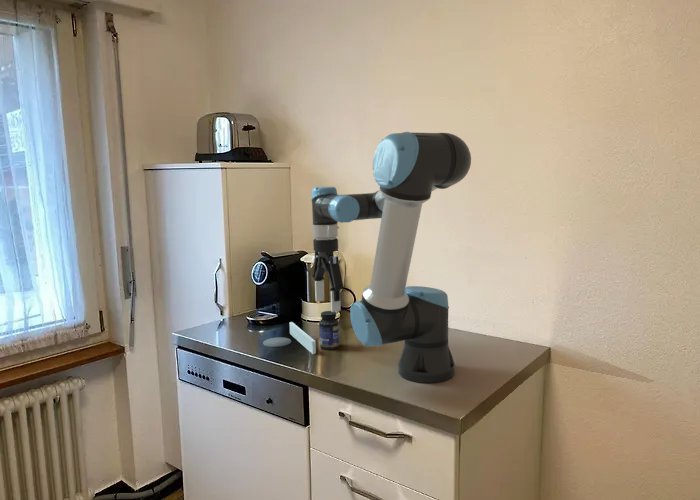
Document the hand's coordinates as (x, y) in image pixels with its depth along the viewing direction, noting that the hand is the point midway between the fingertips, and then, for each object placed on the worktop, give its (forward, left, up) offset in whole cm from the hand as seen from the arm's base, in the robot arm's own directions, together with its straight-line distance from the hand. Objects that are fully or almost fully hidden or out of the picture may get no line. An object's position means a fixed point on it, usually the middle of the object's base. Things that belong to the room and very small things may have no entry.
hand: (327, 305), depth 166 cm
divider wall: (+7, +6, -13) cm, 16 cm away
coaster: (+12, +13, -13) cm, 22 cm away
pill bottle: (0, 0, -13) cm, 13 cm away
